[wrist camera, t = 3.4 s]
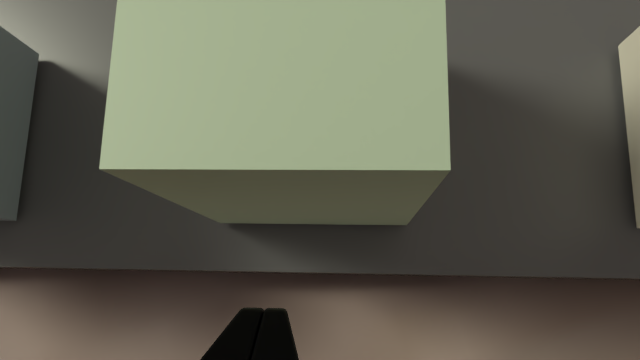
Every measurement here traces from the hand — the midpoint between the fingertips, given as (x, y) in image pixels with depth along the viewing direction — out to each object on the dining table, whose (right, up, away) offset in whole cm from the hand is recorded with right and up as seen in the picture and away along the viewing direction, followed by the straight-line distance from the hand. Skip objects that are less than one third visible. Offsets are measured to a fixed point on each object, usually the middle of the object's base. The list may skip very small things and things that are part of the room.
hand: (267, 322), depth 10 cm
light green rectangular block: (+1, +4, +7) cm, 9 cm away
